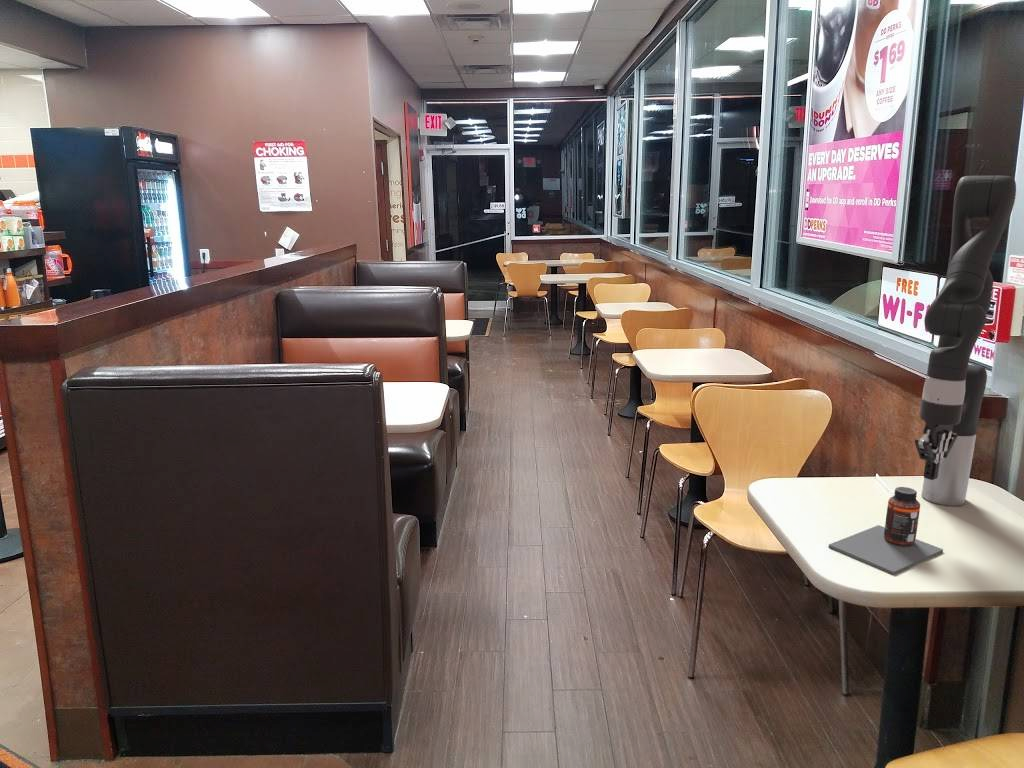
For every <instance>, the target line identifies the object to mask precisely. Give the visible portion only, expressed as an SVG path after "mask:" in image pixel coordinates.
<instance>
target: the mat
mask: <svg viewBox="0 0 1024 768" xmlns="http://www.w3.org/2000/svg"><path fill="white" fill-rule="evenodd" d="M884 530H885V526H882V525H879V524H878V525H875V526H873V527H871V528H867V529H864V530H863V531H860V532H857V533H855V534H852V535H850V536H847V537H844V538H842V539H839V540H837V541H834V542H832V543H829V544H828V548H830V549H832V550H834V551H836V552H839V553H841V554H844V555H846V556H848V557H851V558H853V559H856V560H858V561H860V562H863V563H865V564H866V565H867V564H868V565H870V566H872V567H875V568H877V569H879V570H882V571H883V572H886V573H888V574H891V575H893V576H894V575H896V574H899V573H901V572H902V571H905V570H907V569H910V568H912V567H913V566H916V565H918V564H920V563H922V562H925V561H926V560H929V559H930V558H931V559H932V558H934V556H938V555H939V554H941V553H944V548H941V547H938V546H935V545H933V544H930V543H927V542H924V541H922V540H919V539H917V538H916V539H915V543H914V544H912V545H910V546H902V545H897V544H893V543H891V542H889V541H887V540H886V539H885V538H884Z"/></svg>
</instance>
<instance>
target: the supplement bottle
mask: <svg viewBox="0 0 1024 768" xmlns="http://www.w3.org/2000/svg"><path fill="white" fill-rule="evenodd" d="M917 493H918V491H917V490H915V489H914V488H911V487H908V486H898V487H897V486H896V487H895V488H894V493H893V494H894V495H892V496H890V497H889V498H888V502H887V506H886V515H885V522H884V524H885V525H884V527H885V530H884V538H885V539H886V540H887V541H889V542H891V543H893V544H897V545H902V546H910V545H912V544H914V543H915V539H917V531H918V526H919V518H920V513H921V512H920V510H921V503H920V502H919V501H918V499H917Z"/></svg>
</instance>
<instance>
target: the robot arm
mask: <svg viewBox="0 0 1024 768" xmlns="http://www.w3.org/2000/svg"><path fill="white" fill-rule="evenodd" d="M1016 195H1017V183H1016V180H1015V177H1012V176H1011V175H966V176H962V177H960V179H959V180H958V181H957V184H956V187H955V192H954V197H953V209H952V225H951V227H952V228H951V240H950V241H951V242H950V252H949V258H948V265H947V270H946V271H947V272H946V277H945V281H944V284H943V286H942V288H941V290H940V291H939V293H938V294H937V295H936V296H935V298H934V300H933V301H932V302H931V304H930V305H929V307H928V308H927V311H926V313H925V316H924V320H923V321H924V322H923V323H924V326H925V330H926V331H927V332H928V333H929V334H931V335H933V336H938V344H937V347H935V348H933V349H932V350H931V352H930V354H929V358H928V366H927V372H926V376H925V377H926V378H925V381H924V384H923V389H922V395H921V400H920V401H921V402H920V408H919V416H918V417H919V418H920V420H922V421H924V423H925V424H924V427H923V430H922V437H921V438H916V439H914V444H915V447H916V451H917V454H918V456H919V459H920V460H923V461H924V462H925V463H924V470H923V484H922V487H921V488H922V490H921V497H922V498H923V499H924V500H927V501H928V502H932V503H934V504H938V505H941V506H942V505H944V506H950V507H952V506H954V507H955V506H956V507H957V506H963V505H964V504H965V503H966V499H967V498H966V497H967V492H968V486H969V480H970V475H971V469H972V463H973V457H974V456H973V455H974V451H975V444H976V440H977V439H976V438H977V431H978V425H979V421H980V420H979V419H980V413H981V409H982V408H981V407H982V403H983V399H984V395H985V392H986V388H987V387H986V386H987V383H988V373H987V370H986V368H985V367H984V366H982V365H976V364H970V363H969V362H970V358H971V354H972V352H973V349H974V347H975V345H976V343H977V341H978V339H979V337H980V335H981V334H982V331H983V329H984V328H985V325H986V322H987V314H988V312H989V310H990V307H991V302H992V295H993V288H994V279H993V275H992V273H991V270H990V266H991V261H992V259H993V256H994V254H995V251H996V249H997V247H998V245H999V243H1000V240H1001V239H1002V237H1003V234H1004V231H1005V229H1006V226H1007V224H1008V221H1009V219H1010V216H1011V214H1012V211H1013V210H1014V209H1013V208H1014V205H1015V201H1016ZM971 220H985V221H986V220H987V222H986V225H985V226H984V227H983V228H982V229H981V230H979V232H978V233H977V234H975V235H974V236H973V235H972V230H971V225H970V223H971V222H970V221H971Z"/></svg>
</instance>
